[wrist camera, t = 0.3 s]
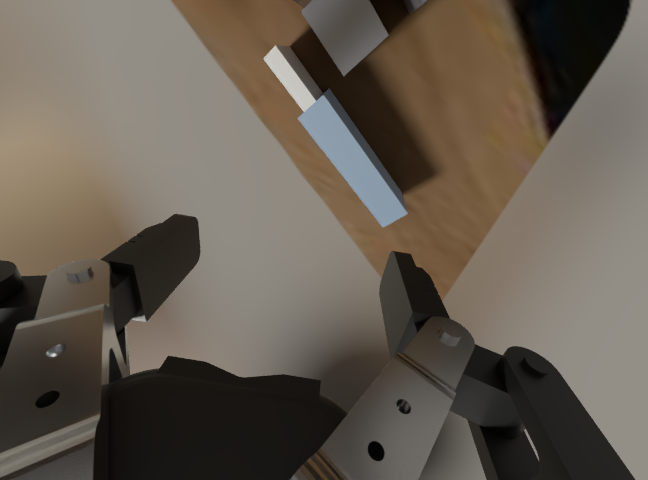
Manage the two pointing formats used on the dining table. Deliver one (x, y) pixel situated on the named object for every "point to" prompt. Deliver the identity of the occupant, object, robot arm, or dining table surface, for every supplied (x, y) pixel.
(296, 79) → the blue and white bar
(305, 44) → the dining table surface
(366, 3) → the brown and grey stand
